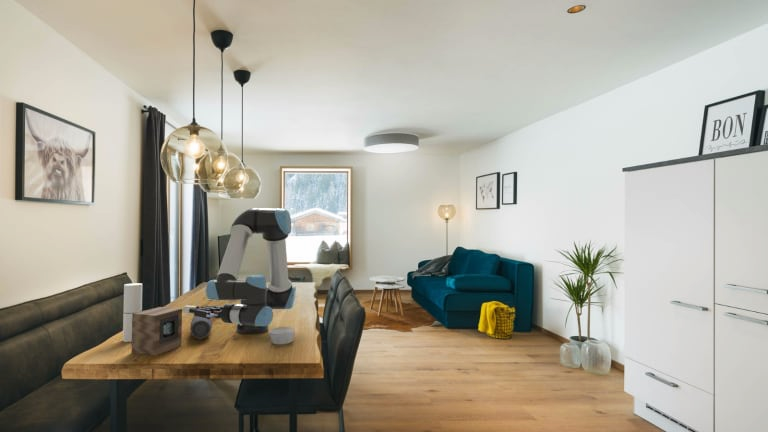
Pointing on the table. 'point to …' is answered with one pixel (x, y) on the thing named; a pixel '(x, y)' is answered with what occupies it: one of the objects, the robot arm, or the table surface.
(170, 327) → the peg
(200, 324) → the bluetooth speaker
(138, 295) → the cylindrical container
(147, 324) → the housing
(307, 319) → the table surface
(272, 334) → the ramekin
